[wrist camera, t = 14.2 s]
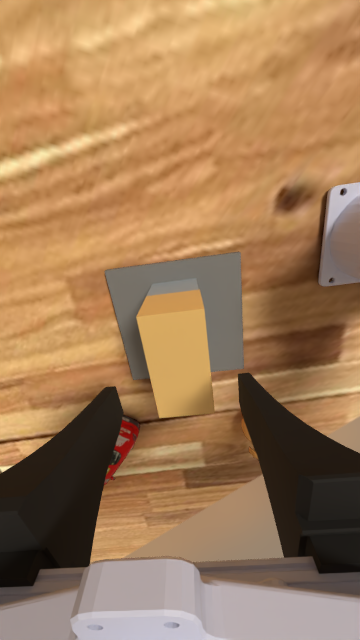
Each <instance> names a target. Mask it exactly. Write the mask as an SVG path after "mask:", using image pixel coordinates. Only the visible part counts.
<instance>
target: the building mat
mask: <svg viewBox="0 0 360 640" xmlns="http://www.w3.org/2000/svg"><path fill="white" fill-rule="evenodd" d="M105 275H106V279H107V283H108V286H109V290H110V294H111V298H112V302H113V305H114V309H115V313H116V317H117V320H118V324H119V328H120V332H121V335H122V339H123V343H124V347H125V350H126V354H127V358H128V362H129V366H130V369H131V373H132V377H133V380H137V379H147V378H150V375H149V371H148V366H147V362H146V358H145V353H144V349H143V344H142V340H141V336H140V331H139V327H138V323H137V318H136V316H137V314H138V312H139V310H140V308H141V306H142V304H143V302H144V300H145V298H146V296H147V294H148V292H149V290H150V288H151V286H152V284H156V283H164V282H171V281H179V280H186V279H193V278H196V280H197V284H198V289H200V292H201V297H202V301H203V305H204V310H205V320H206V330H207V340H208V350H209V360H210V370H211V372H215V371H225V370H235V369H244V357H243V323H242V289H241V256H240V252H233V253H226V254H219V255H211V256H204V257H197V258H189V259H182V260H175V261H167V262H160V263H153V264H145V265H138V266H131V267H123V268H116V269H109V270H105Z"/></svg>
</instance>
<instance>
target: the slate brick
mask: <svg viewBox="0 0 360 640" xmlns="http://www.w3.org/2000/svg"><path fill="white" fill-rule="evenodd" d="M191 290H199V289H198V284H197V280H196V278H193V279H186V280H179V281H171V282H164V283H156V284H152V286H151V288H150V290H149V292H148V294H147V296H152V295H160V294H167V293H175V292H183V291H191Z"/></svg>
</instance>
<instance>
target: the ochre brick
mask: <svg viewBox="0 0 360 640" xmlns="http://www.w3.org/2000/svg"><path fill="white" fill-rule="evenodd" d="M136 318H137V323H138V327H139V331H140V336H141V340H142V344H143V349H144V353H145V358H146V362H147V366H148V371H149V375H150V379H151V384H152V388H153V392H154V397H155V401H156V406H157V410H158V414H159V418H167V417H178V416H189V415H200V414H211V413H215V410H214V400H213V390H212V380H211V370H210V360H209V350H208V340H207V330H206V320H205V310H204V305H203V301H202V297H201V292H200V289H199V290H191V291H183V292H175V293H167V294H160V295H152V296H146V298H145V300H144V302H143V304H142V306H141V308H140V310H139V312H138V314H137V316H136Z"/></svg>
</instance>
